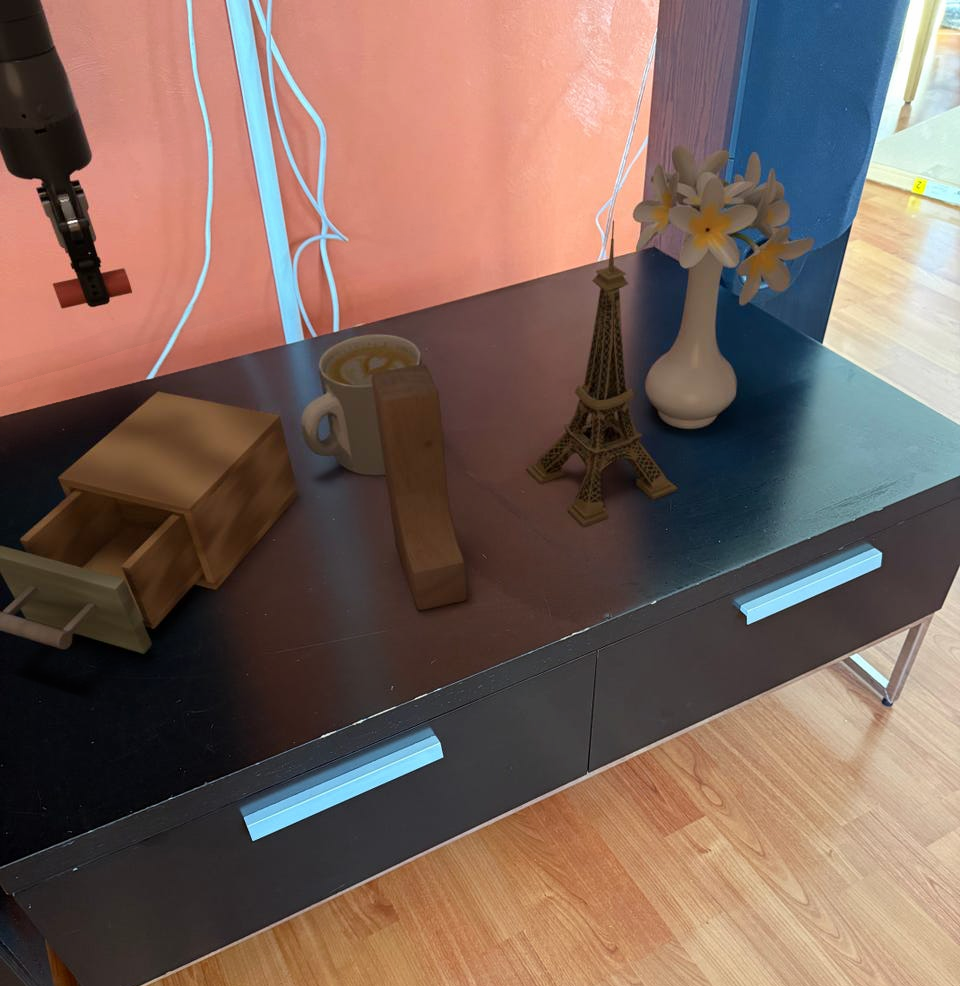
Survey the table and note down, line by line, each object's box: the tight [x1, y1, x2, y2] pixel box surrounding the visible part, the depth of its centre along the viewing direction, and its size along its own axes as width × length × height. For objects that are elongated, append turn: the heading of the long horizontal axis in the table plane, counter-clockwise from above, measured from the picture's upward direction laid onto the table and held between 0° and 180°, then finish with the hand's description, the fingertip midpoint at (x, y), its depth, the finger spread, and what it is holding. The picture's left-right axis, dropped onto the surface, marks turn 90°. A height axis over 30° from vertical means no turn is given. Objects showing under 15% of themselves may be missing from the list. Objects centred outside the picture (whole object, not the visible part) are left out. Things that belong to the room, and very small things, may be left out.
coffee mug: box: [300, 333, 423, 476], centre depth 94 cm, size 13×10×10 cm
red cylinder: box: [52, 267, 133, 309], centre depth 95 cm, size 7×2×2 cm
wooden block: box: [372, 363, 468, 611], centre depth 78 cm, size 9×4×18 cm, turn 16°
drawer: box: [0, 489, 204, 655], centre depth 80 cm, size 18×12×7 cm
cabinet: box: [57, 391, 299, 591], centre depth 88 cm, size 15×14×9 cm
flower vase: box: [632, 144, 815, 430], centre depth 91 cm, size 13×18×25 cm
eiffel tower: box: [525, 220, 678, 528], centre depth 84 cm, size 11×11×25 cm
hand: (96, 297), depth 96 cm, fingers closed on red cylinder, 2 cm apart
